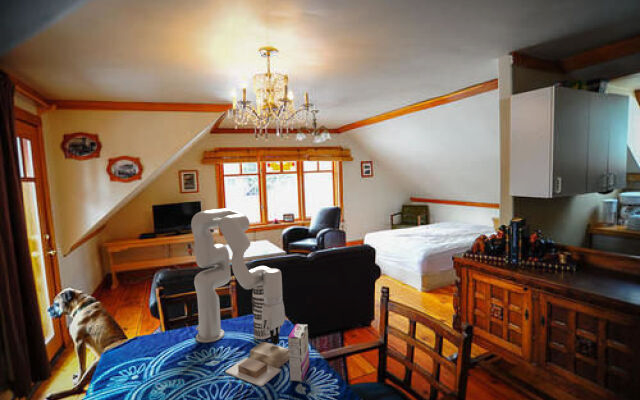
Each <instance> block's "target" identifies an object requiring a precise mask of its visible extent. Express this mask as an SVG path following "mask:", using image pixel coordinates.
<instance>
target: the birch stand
mask: <svg viewBox="0 0 640 400" xmlns="http://www.w3.org/2000/svg"><path fill="white" fill-rule="evenodd" d="M249 354H250V355H249V358H251V359H254V360H257V361H260V362H263V363H266V364H267V365H269V366H272V367H275V368H278V369H280V368H281V367H283V365H284V364H286V363H287V362H289V348H286V347H283V346H280V345H278V344H277V345H276V344H272V343H271V342H265V341H262V342H260V343H259V344H257V345H256V346H254V347H252V348H251V349H249Z"/></svg>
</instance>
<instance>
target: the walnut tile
mask: <svg viewBox="0 0 640 400" xmlns="http://www.w3.org/2000/svg"><path fill="white" fill-rule="evenodd" d="M247 358H248V357H247ZM266 371H267V364H266V363H263V362H260V361H257V360H254V359H251V358H250V357H249V358H248V359H247V360H245V361H244V362H242V363H241V364H239V365H238V372H240V373H243V374H246V375H248V376H251V377H254V378H256V379H257V378H258V377H259V376H260V375H262V374H263V373H264V372H266Z"/></svg>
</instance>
